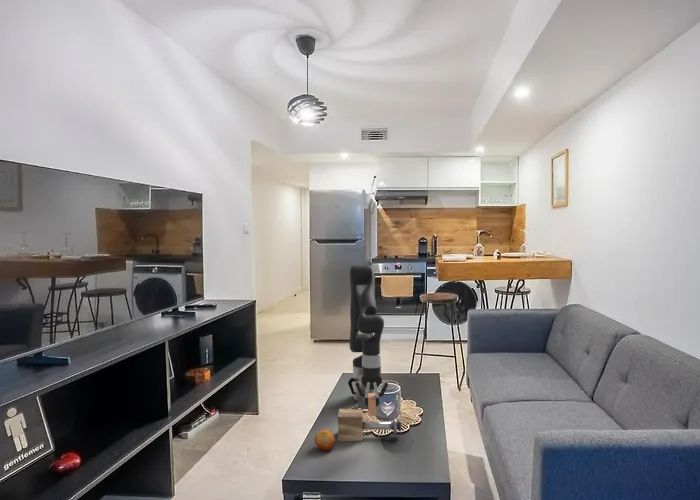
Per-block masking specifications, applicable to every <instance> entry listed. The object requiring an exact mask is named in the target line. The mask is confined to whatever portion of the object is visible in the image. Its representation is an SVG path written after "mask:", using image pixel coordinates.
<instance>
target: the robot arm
mask: <svg viewBox="0 0 700 500" xmlns="http://www.w3.org/2000/svg"><path fill="white" fill-rule="evenodd" d="M349 279H350V280H349V283H350V287H349V288H350V308H349V309H350V310H349V313H350V314H349V315H350V331H349V349H350V351H351V353H361V355H359V356H357V357H355V358H353V360H352V378H354V377H357V376H359V375H362V378H361V380H360V381H356V382H352V386H353V389H354V392H357V393H356V394H354V395H353V394H352V395H353V400H355V401H357V402H358V397H359V393H360V396H363V397H365V405H367V407H368V393H369V390H370V389H373V391H374V393H375V394H376V408H378V406H379V405H380V397H384V395H385V393H386V391H387V388H388V386H389V382H388V380H383V378H382V370H381V368H382V361H381V360H382V359H381V349H380V348H381V338H382V334H383V330H384V326H385V321H384V318H383V316H382V315H380V314H377V313H378V308H377V301H376V280H375V279H376V278H375V269H374V267H373V266H372V265H369V264H363V265H362V264H358V265H352V266H351V267H350V270H349ZM358 286H366V288H365V289H364V290H363V291H362V292H361V291H360V289H359V287H358ZM359 332H360V333H359ZM370 334H373V335H371V336H370ZM361 383H362V384H363V385H364V386H365V387H366V391H365V392H363V390H362V388H361ZM380 385H381V386H382V387H381V390H380V392H379V387H380Z"/></svg>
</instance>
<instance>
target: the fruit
mask: <svg viewBox="0 0 700 500" xmlns="http://www.w3.org/2000/svg"><path fill="white" fill-rule="evenodd" d="M313 440H314V444H315V446H316V448H317V449H318V450H319V451H330V450H332V449H333V447H334V445H335V435H334V434H333V432H332V431H331V430H330V429H327V428H325V429H321V430H319V431H318V432H317V433H316V434H315V436H314V439H313Z"/></svg>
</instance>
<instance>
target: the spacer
mask: <svg viewBox="0 0 700 500" xmlns="http://www.w3.org/2000/svg"><path fill="white" fill-rule="evenodd" d="M367 412H368V415H367V416H368V417H376V416H377V407H376V394H375V392H373V393H368V411H367Z"/></svg>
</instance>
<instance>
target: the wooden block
mask: <svg viewBox="0 0 700 500" xmlns="http://www.w3.org/2000/svg"><path fill="white" fill-rule="evenodd" d="M363 413H364V411H363V409H357V408H339V409H338V416H337V430H338V431H337V432H338V433H337V434H338V436H337V438H338V441H340V442H341V441H342V442H344V441H345V442H348V441H349V442H350V441H351V442H352V441H353V442H356V441H357V442H359V441H361V442H363V440H364V430H363V427H362V422H364V421H363V419H364V416H363Z"/></svg>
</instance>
